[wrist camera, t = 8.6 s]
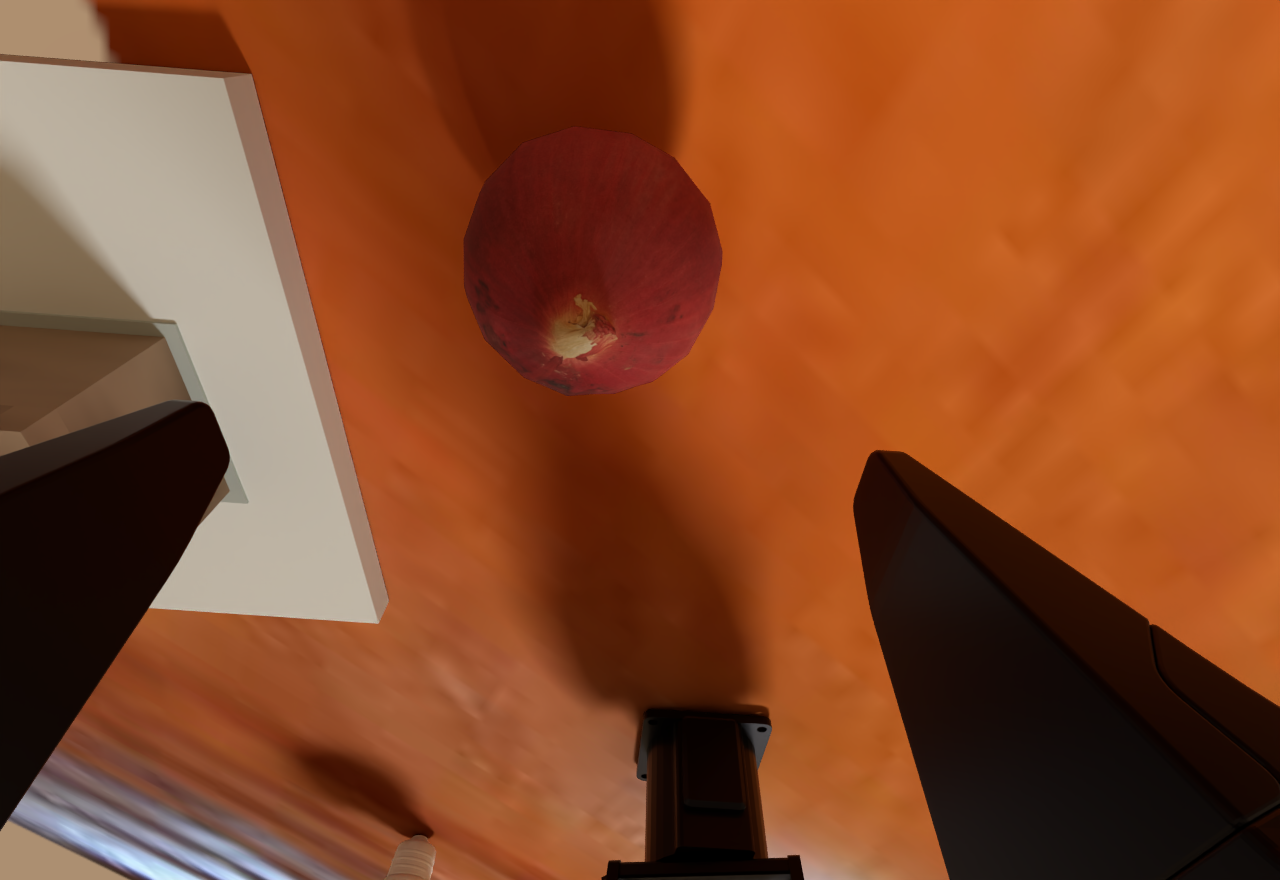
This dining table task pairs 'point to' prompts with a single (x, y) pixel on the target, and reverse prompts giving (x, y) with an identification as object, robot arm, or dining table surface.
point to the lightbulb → (413, 860)
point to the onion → (591, 261)
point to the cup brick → (80, 383)
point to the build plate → (192, 309)
